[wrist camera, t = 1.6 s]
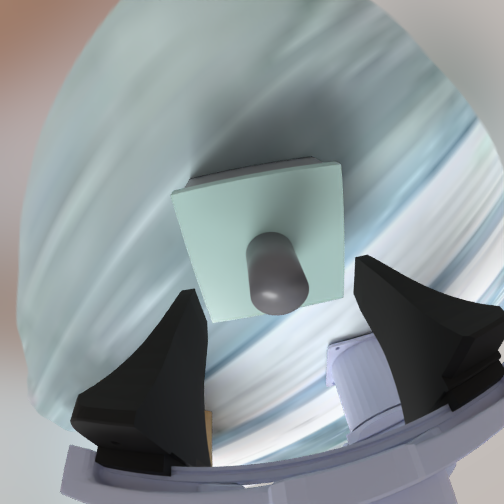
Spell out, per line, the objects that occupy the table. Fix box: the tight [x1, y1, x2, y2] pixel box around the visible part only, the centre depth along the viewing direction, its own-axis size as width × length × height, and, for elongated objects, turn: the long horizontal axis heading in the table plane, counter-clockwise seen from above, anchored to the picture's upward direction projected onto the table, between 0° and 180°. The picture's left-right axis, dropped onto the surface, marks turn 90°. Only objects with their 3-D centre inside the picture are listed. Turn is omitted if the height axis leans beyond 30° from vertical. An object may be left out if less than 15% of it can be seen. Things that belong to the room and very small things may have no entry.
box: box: [185, 157, 323, 188], centre depth 17 cm, size 8×8×4 cm
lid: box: [171, 161, 344, 323], centre depth 14 cm, size 9×9×5 cm
